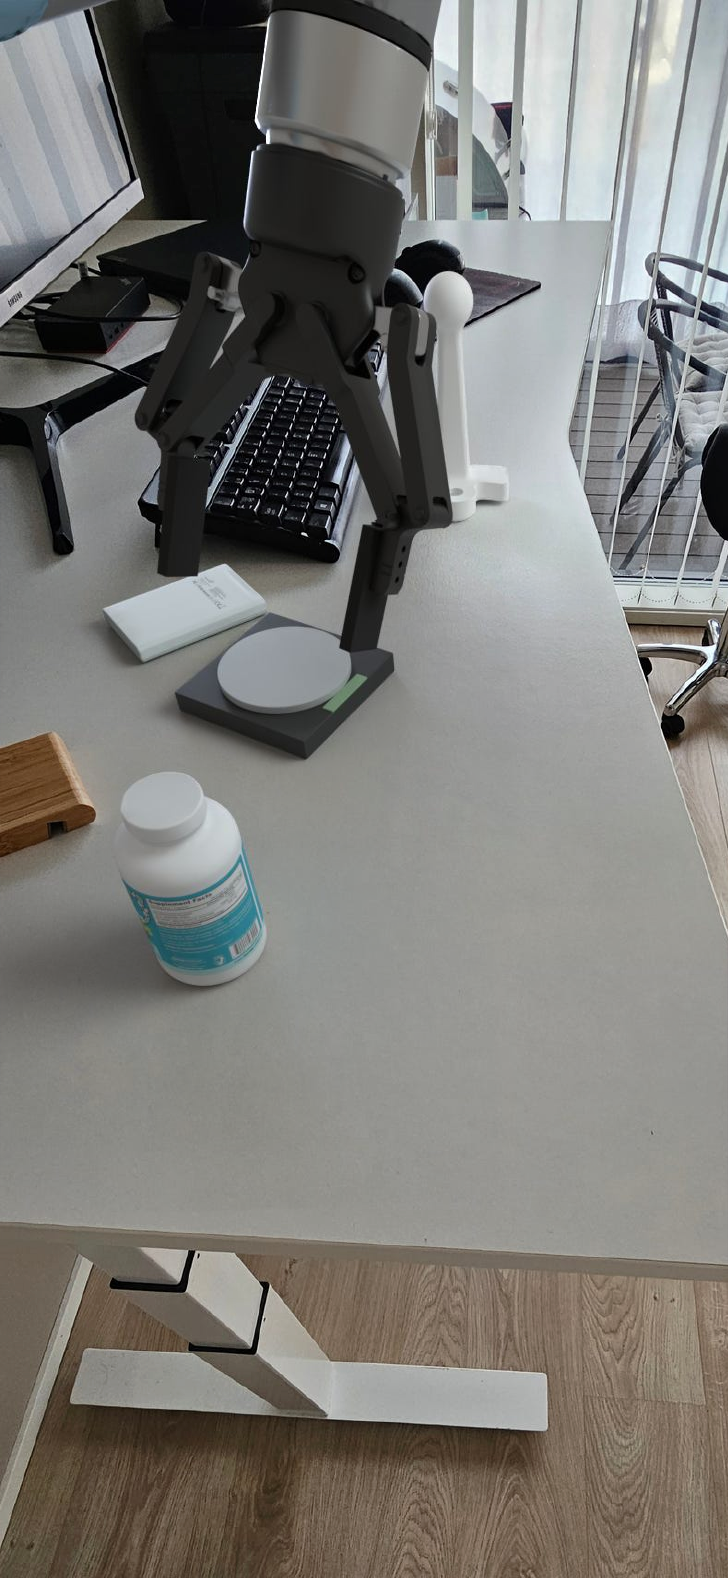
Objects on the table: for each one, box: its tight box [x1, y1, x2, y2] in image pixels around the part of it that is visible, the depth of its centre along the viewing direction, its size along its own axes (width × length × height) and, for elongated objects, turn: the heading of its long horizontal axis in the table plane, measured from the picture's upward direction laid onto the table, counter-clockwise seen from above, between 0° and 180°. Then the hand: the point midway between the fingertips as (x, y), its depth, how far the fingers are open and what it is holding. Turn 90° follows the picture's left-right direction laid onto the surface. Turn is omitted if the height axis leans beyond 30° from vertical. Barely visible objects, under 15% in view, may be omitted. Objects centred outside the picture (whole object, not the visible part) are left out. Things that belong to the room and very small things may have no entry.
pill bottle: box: [112, 771, 268, 987], centre depth 61 cm, size 8×7×14 cm
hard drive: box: [101, 563, 269, 663], centre depth 89 cm, size 2×8×12 cm
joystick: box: [423, 270, 510, 522], centre depth 93 cm, size 11×8×20 cm
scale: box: [174, 611, 395, 760], centre depth 82 cm, size 13×13×2 cm
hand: (264, 611), depth 58 cm, fingers open, 13 cm apart
